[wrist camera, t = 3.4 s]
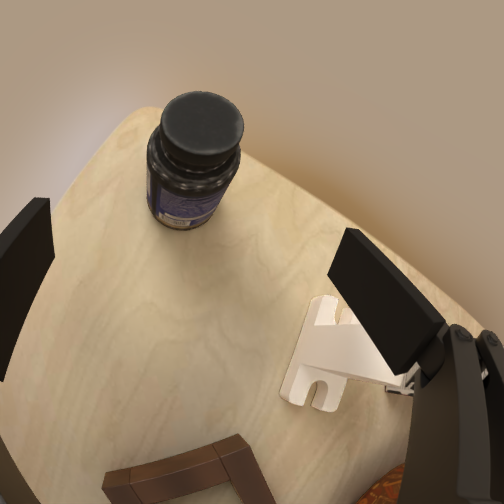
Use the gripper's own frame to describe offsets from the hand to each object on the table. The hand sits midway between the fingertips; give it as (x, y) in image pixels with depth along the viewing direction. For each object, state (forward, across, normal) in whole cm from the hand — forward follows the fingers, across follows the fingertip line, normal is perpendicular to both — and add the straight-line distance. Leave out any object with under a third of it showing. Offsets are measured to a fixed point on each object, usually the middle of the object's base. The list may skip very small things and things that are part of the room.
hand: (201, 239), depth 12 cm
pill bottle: (+14, 0, -4) cm, 14 cm away
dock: (-6, +1, -24) cm, 24 cm away
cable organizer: (+4, +13, -13) cm, 19 cm away
